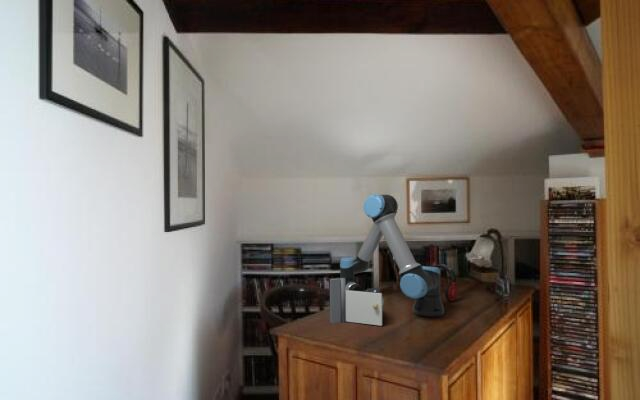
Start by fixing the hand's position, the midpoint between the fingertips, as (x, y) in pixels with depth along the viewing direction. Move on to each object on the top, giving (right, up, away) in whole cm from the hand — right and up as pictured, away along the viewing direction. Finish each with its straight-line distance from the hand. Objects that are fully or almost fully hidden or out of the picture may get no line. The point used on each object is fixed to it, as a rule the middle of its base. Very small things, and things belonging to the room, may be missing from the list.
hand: (376, 302), depth 168 cm
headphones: (+44, -10, +42) cm, 62 cm away
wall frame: (-17, -10, +2) cm, 20 cm away
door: (-6, -9, -2) cm, 11 cm away
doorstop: (-4, -6, +12) cm, 14 cm away
